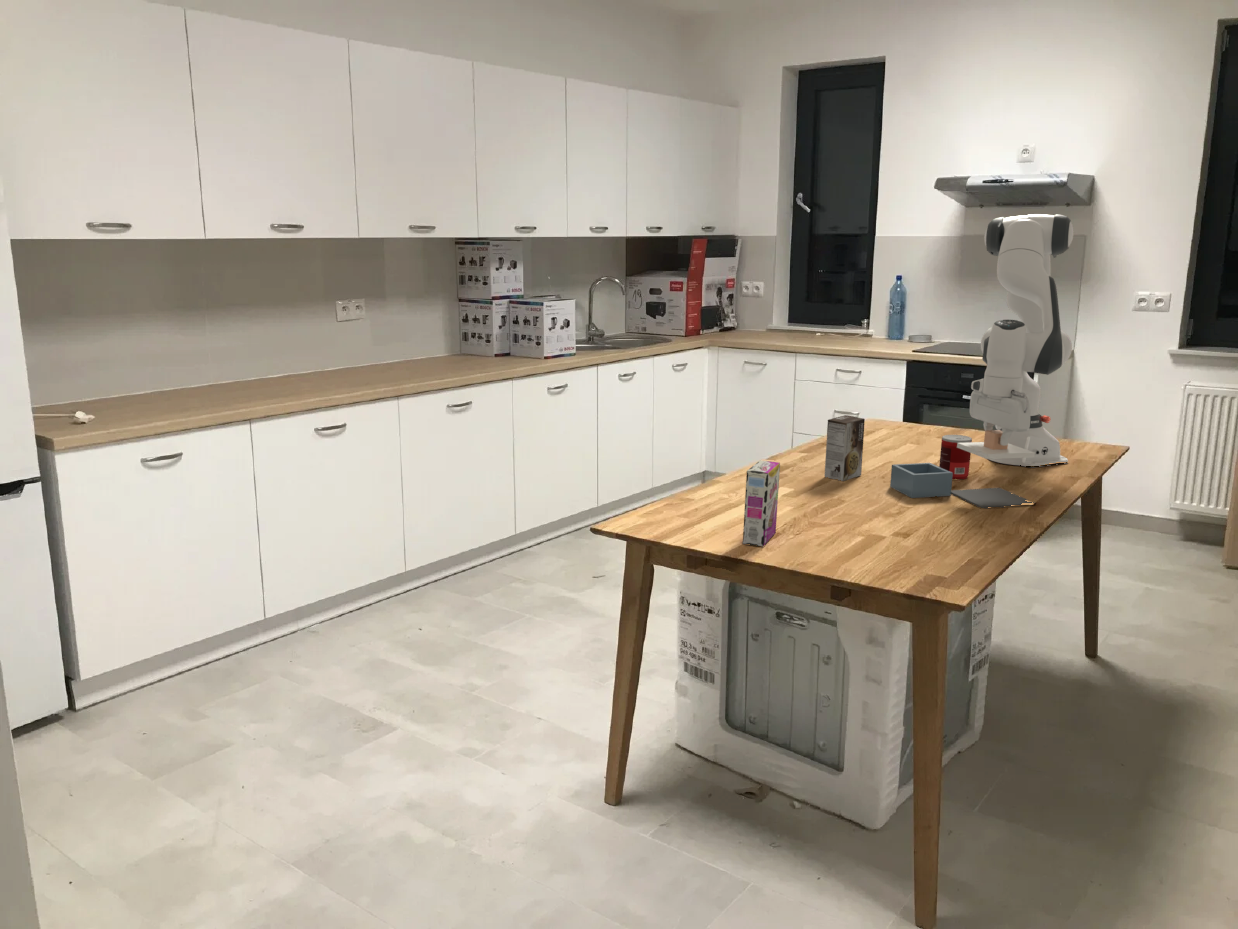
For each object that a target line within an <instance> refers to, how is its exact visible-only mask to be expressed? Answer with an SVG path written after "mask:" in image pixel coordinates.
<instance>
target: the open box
mask: <svg viewBox="0 0 1238 929" xmlns="http://www.w3.org/2000/svg"><path fill="white" fill-rule="evenodd" d="M890 471H891V472H890V481H889V482H890V483H889V487H890V488H891V489H893V490H895V491H897V492H899V493H901V494H903V495H904V496H907V497H909V498H911V499H913V498H914V499H916V498H932V497H933V498H934V497H935V496H937V497H948V496H949V497H950V496H952V494H951V490H952V484H953V480H952V477H953V473H952V472H950V471H948V470H945V469H943V468H941V467H939V466H938V465H936V464H933V463H931V462H915V463H897V464H891V470H890Z"/></svg>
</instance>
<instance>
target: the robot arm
mask: <svg viewBox="0 0 1238 929" xmlns="http://www.w3.org/2000/svg"><path fill="white" fill-rule="evenodd" d="M1074 233H1075V232H1074V226H1073V223H1072V221H1071V219H1070V218H1069V216H1068V215H1063V214H1057V213H1056V214H1054V215H1053V214H1044V213H1043V214H1041V213H1034V214H1032V213H1031V214H1027V215H1025V214H1024V215H1016V216H1007V217H1005V216H1001V217H996V218H993V219H992V220H991V221H990V222H989V223H988V224H987V227H986V230H985V232H984V235H983V236H984V238H983V240H984V245H985V247H986V248H985V249H986V251H987V253H989V255H991V256H994V257H997V264H996V277H997V281H998V282H999V284H1000V285H1001V286H1002V288H1004V289H1005V290H1006V291H1007V292H1006V305H1007V307H1008V310H1010V312H1012V313H1013V314H1015V315H1016V316H1017V317H1018V319H1020V320H1017V319H1000V320H997V321H995V322H993V324H992V326H991V327H989V328H988V329H986V331H985V332H984V334H982V337H981V340H980V350H981V353H982V358H981V360H982V361H983V362H984V363H985V364H986V369H985V371H984V376H983V378H981V379H977V380H973V381H972V382H971V385H970V388H971V390H972V392H971V394H970V400H969V415H970V417H971V418H973V419H976V420H979V421H982V422H983V425H982V426H983V430H984V431H985V430H1001V431H1002V432H1003V433H1002V436H1001V437H999V438H998V444H1000V445H1002V446H1004V445H1008V443H1009V444H1012V445H1015V446H1017V447H1020V448H1023V449H1026V450H1029V451H1032V452H1035V455H1034V457H1031V458H1002V459H988V460H989V461H992V462H995V463H998V464H999V463H1000V464H1004V465H1013V466H1020V465H1021V467H1026V466H1039V467H1041V466H1040V465H1045V464H1049V463H1056V462H1068V463H1069V460H1068V458H1067V457H1065V456H1063V455H1061V444H1060V441H1059V440H1058V439H1057V438H1056V437H1055V436H1054V435H1053V434H1051V433H1050V432H1049V431H1048V430H1047V429H1046V428H1045V427H1044V426H1043V423H1044V424H1045V423H1046V424H1049V423H1050V422H1051V417H1050V416H1048V415H1045V414H1044V415H1042V414H1040V412H1039V410H1040V403H1041V395H1042V394H1041V393H1042V389H1041V386H1040V385H1039V383H1038V382H1037V381H1035V380H1034V379H1033V378H1032V377H1030V375H1029V374H1028V373H1034V374H1040V375H1046V376H1048V375H1052V373H1055V372H1056V371H1057V370H1059V369H1060V368H1061V367H1062V366H1063V365H1065V364H1066V363H1067V361H1068V360H1069V359H1070V357H1071V355H1072V350H1073V343H1072V340H1071V339H1070V337H1069V335H1068V334H1067V333H1066V332H1065V331H1063V329H1062V328H1061V319H1060V308H1059V299H1058V298H1059V297H1058V289H1057V284H1056V281H1055V279H1054V278H1053V277H1052V276H1051V274H1052V264H1051V263H1052V261H1051V256H1052V257H1053V259H1056V258H1057V256H1058V255H1059V256H1060V255H1063V254H1064V253H1065V252H1067V251H1068V250H1069V248H1070V246H1071V245H1072V242H1073V239H1074ZM1008 438H1009V439H1008Z"/></svg>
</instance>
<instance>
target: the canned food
mask: <svg viewBox="0 0 1238 929" xmlns="http://www.w3.org/2000/svg"><path fill="white" fill-rule="evenodd" d="M969 442H973V438H972V437H970V436H968V435H962V434H946V435H945V434H944V435H942V437H941V442H940V443H941V444H940V453H939V456H940V457H939V466H938V467H941V468H943V469H945V470H948V471H950V472H952V473H953V477H952V479H963V480H966V479H968V477H969V473H970V464H971V455H972V453H970V452H967V451H965V450H962V449H960V448H957V443H969Z"/></svg>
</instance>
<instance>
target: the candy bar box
mask: <svg viewBox="0 0 1238 929" xmlns="http://www.w3.org/2000/svg"><path fill="white" fill-rule="evenodd" d="M780 469H781V463H780V462H777V461H769V460H759V461H757V462H756V463H755V464H754V465H752V466H751V467H749V469H747V470H746V478H745V479H746V480H745V496H744V514H743V529H742V530H743V532H742V533H743V534H742V545H745V544H750V545H749V546H751V545H757V546H756V547H758V546H762V547H761V548H764V547H765V546H764V545H767V544H768V543H769V541H770V540H771V539H772V538H773V537H774V535H775V534H776V531H777V518H778V517H777V515H778V514H777V513H778V502H779V501H778V500H779V499H778V498H779V488H780V487H779V486H780V471H781V470H780ZM770 538H771V539H770ZM769 539H770V540H769ZM763 546H764V547H763Z"/></svg>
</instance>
